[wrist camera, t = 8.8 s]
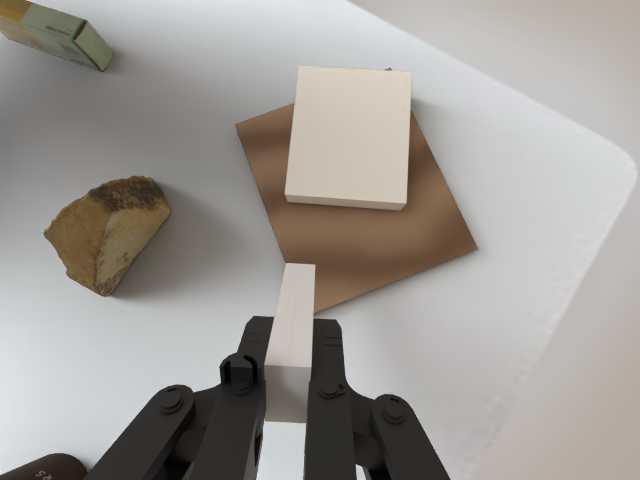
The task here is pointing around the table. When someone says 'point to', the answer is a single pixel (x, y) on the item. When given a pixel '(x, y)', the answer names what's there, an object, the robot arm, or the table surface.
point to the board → (355, 218)
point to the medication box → (54, 33)
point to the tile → (350, 138)
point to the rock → (107, 230)
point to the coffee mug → (49, 469)
